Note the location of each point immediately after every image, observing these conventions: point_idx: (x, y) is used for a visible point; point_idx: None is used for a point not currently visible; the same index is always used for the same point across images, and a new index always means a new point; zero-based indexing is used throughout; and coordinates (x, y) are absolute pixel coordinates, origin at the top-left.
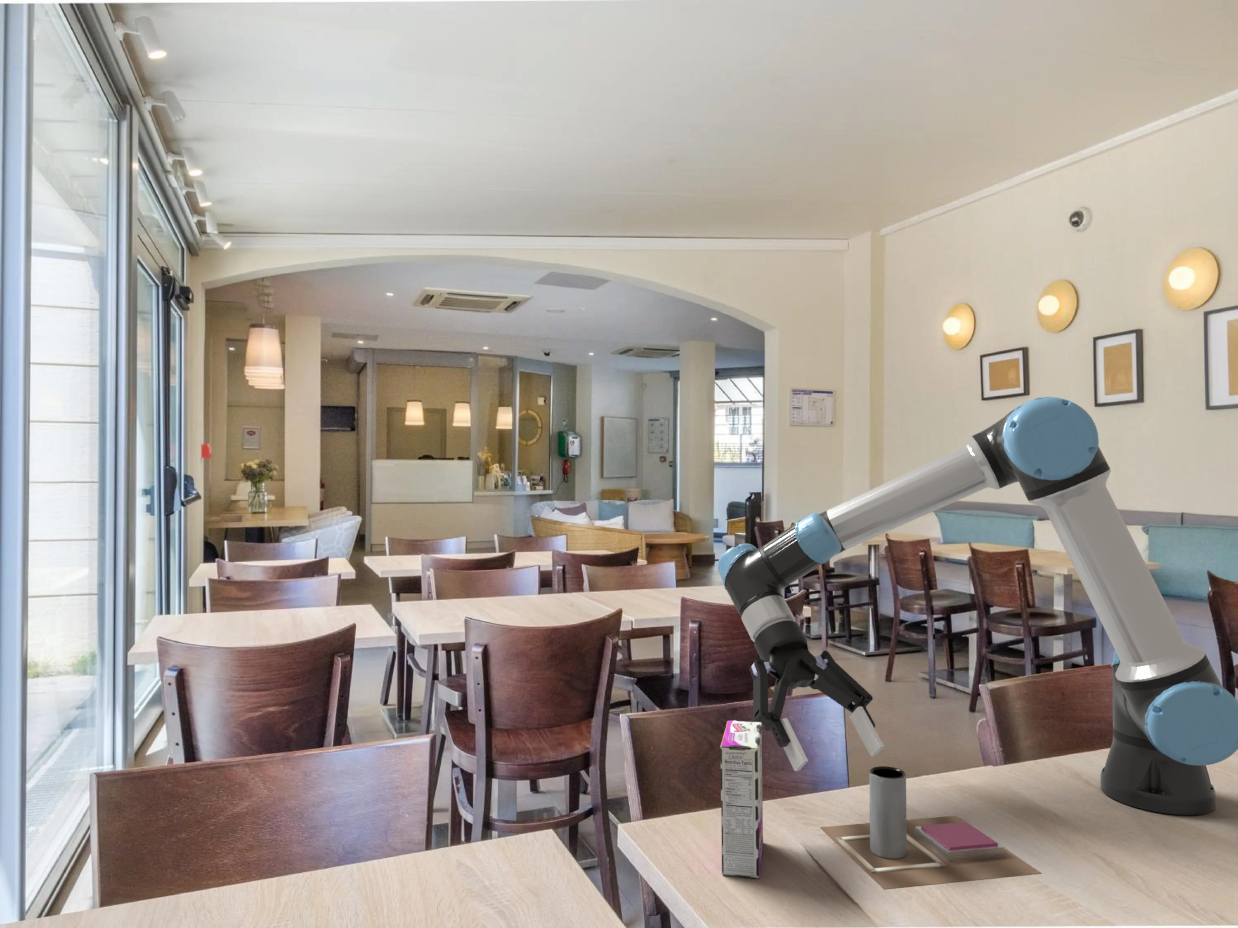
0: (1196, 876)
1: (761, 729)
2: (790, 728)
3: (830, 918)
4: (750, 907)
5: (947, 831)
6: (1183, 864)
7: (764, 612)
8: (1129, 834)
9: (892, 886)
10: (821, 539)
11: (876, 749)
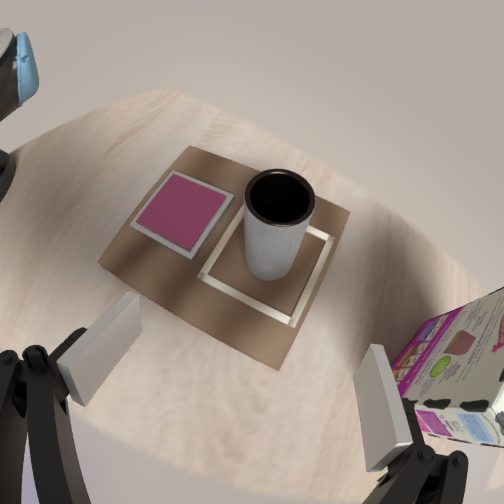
0: (109, 113)
1: (498, 380)
2: (396, 413)
3: (412, 227)
4: (455, 283)
5: (181, 220)
6: (93, 124)
7: None
8: (55, 162)
9: (338, 209)
10: None
11: (138, 310)
